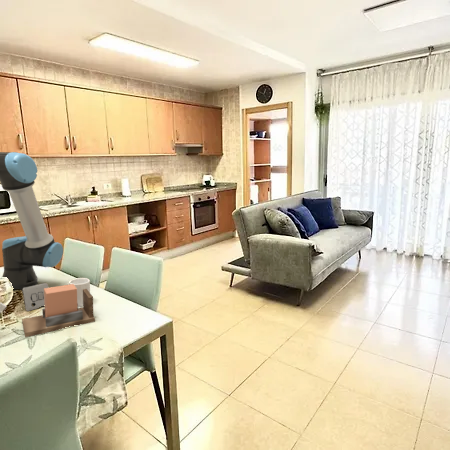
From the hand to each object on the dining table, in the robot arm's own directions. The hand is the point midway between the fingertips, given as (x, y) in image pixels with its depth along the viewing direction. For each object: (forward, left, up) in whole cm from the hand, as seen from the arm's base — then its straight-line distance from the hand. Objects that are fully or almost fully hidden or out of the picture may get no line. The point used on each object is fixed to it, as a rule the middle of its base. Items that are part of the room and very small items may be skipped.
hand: (2, 309), depth 109 cm
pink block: (-3, +17, -7) cm, 19 cm away
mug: (-21, +24, -9) cm, 33 cm away
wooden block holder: (-3, +17, -9) cm, 19 cm away
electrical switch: (-21, +8, -9) cm, 24 cm away
